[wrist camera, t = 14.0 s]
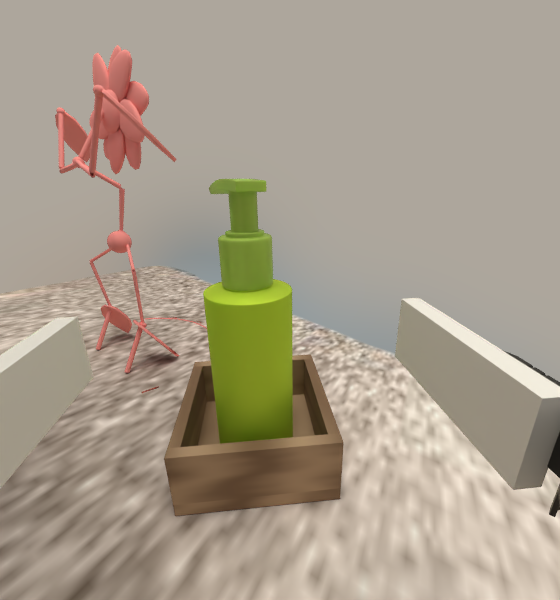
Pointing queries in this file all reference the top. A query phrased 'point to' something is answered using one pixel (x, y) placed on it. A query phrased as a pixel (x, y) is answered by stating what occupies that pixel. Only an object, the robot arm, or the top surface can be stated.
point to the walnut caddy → (253, 451)
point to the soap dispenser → (249, 327)
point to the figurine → (112, 160)
